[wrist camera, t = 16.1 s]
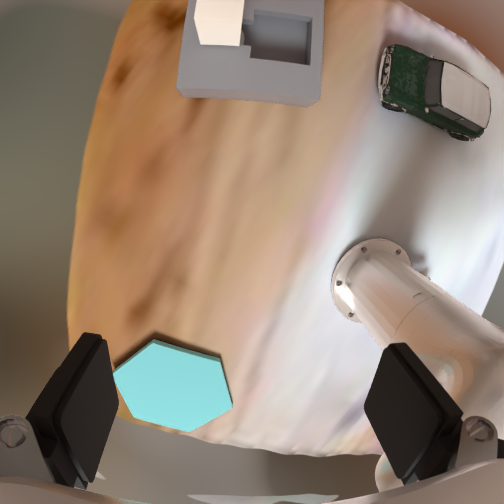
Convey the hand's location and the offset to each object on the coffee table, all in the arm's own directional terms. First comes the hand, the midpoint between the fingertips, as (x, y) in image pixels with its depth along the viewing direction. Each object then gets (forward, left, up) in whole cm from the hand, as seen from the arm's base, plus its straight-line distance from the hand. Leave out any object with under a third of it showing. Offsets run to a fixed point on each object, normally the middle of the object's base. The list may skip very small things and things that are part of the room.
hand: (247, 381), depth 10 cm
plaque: (+8, +28, -31) cm, 43 cm away
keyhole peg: (+3, -21, -29) cm, 36 cm away
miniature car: (-26, -20, -31) cm, 45 cm away
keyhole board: (0, -21, -30) cm, 37 cm away
